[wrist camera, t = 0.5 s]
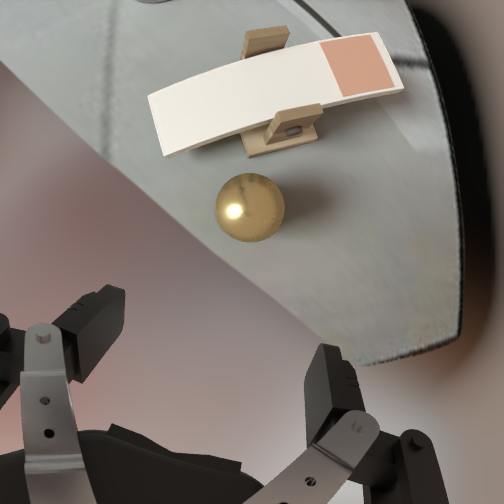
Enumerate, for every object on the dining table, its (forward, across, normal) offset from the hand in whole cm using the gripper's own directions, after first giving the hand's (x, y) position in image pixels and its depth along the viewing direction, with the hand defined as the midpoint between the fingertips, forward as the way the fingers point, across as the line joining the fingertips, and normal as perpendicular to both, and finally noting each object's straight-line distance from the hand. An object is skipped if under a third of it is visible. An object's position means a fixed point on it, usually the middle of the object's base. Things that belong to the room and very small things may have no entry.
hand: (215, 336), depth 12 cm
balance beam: (+22, +1, -13) cm, 25 cm away
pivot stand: (+27, +2, -12) cm, 30 cm away
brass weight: (+24, +2, +1) cm, 24 cm away
